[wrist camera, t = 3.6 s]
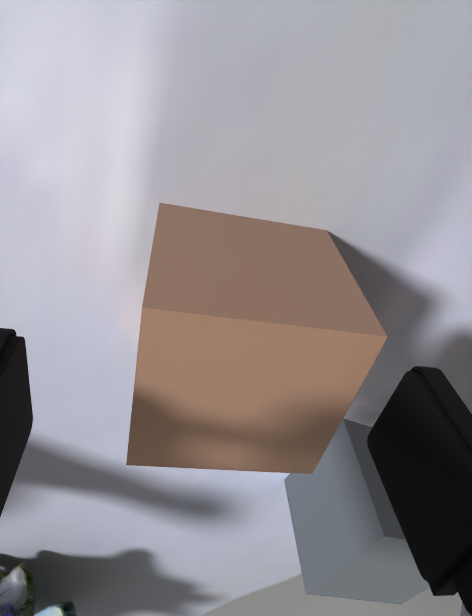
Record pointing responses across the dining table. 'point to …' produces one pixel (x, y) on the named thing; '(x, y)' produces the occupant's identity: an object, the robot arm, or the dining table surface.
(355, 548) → the slate grey cube
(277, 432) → the terracotta cube
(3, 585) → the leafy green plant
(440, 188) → the dining table surface
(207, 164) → the dining table surface
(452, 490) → the robot arm
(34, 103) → the dining table surface
